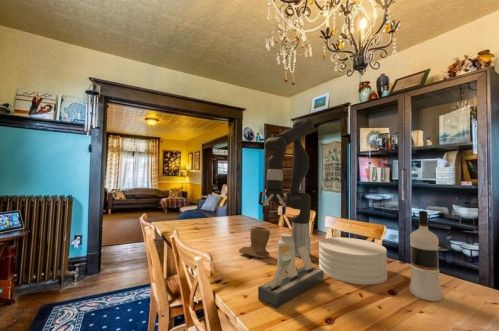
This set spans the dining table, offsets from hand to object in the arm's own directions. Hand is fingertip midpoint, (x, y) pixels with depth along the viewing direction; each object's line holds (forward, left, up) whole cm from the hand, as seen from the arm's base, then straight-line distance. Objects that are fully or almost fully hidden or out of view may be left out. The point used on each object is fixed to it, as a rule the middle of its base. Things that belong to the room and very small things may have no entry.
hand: (273, 214), depth 108 cm
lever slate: (-4, +17, -20) cm, 27 cm away
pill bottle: (-6, +2, -25) cm, 25 cm away
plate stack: (-29, +20, -25) cm, 43 cm away
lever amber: (+6, +19, -20) cm, 28 cm away
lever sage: (+17, +21, -20) cm, 34 cm away
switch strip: (+6, +19, -24) cm, 32 cm away
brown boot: (-5, -20, -25) cm, 32 cm away
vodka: (-30, +48, -25) cm, 62 cm away
